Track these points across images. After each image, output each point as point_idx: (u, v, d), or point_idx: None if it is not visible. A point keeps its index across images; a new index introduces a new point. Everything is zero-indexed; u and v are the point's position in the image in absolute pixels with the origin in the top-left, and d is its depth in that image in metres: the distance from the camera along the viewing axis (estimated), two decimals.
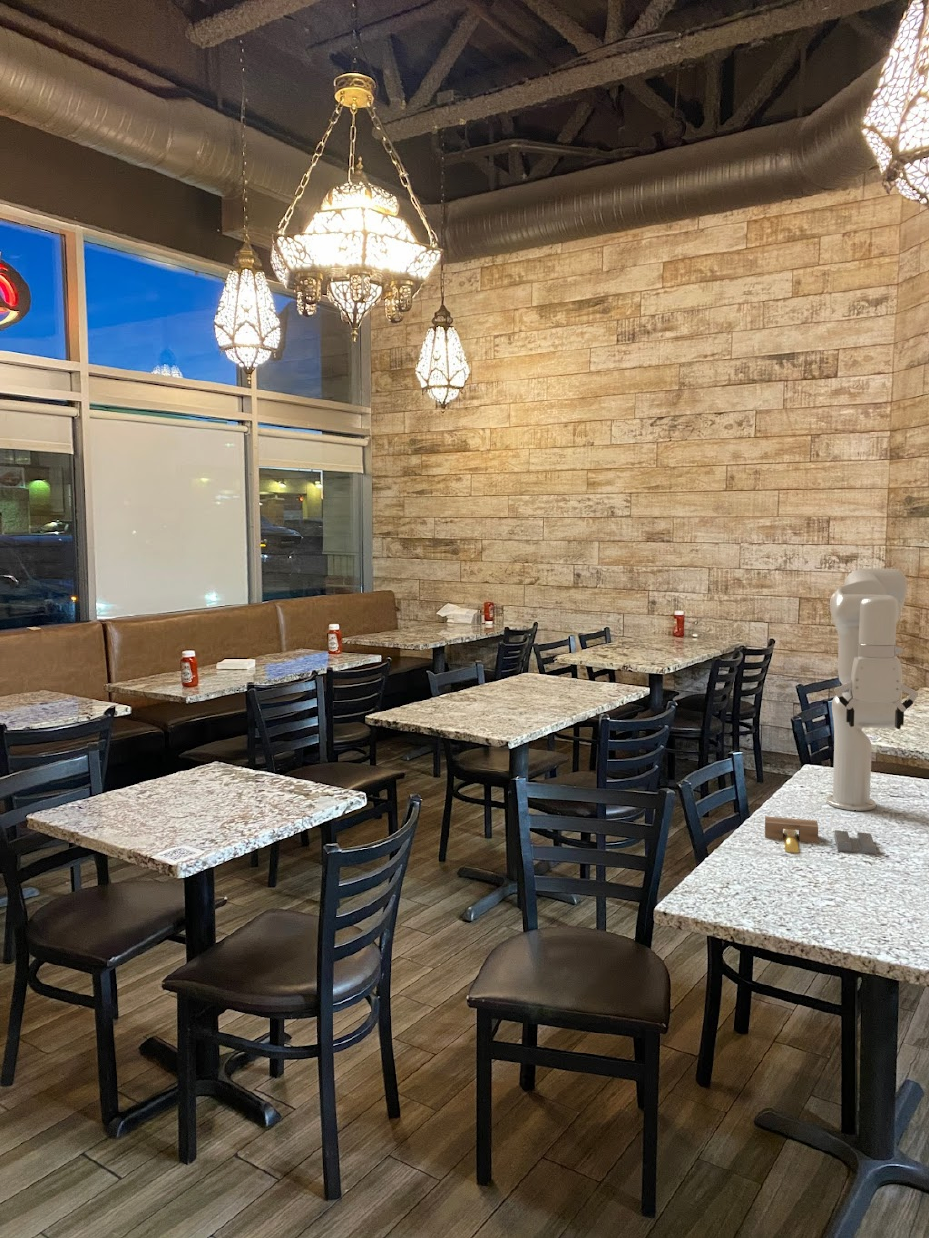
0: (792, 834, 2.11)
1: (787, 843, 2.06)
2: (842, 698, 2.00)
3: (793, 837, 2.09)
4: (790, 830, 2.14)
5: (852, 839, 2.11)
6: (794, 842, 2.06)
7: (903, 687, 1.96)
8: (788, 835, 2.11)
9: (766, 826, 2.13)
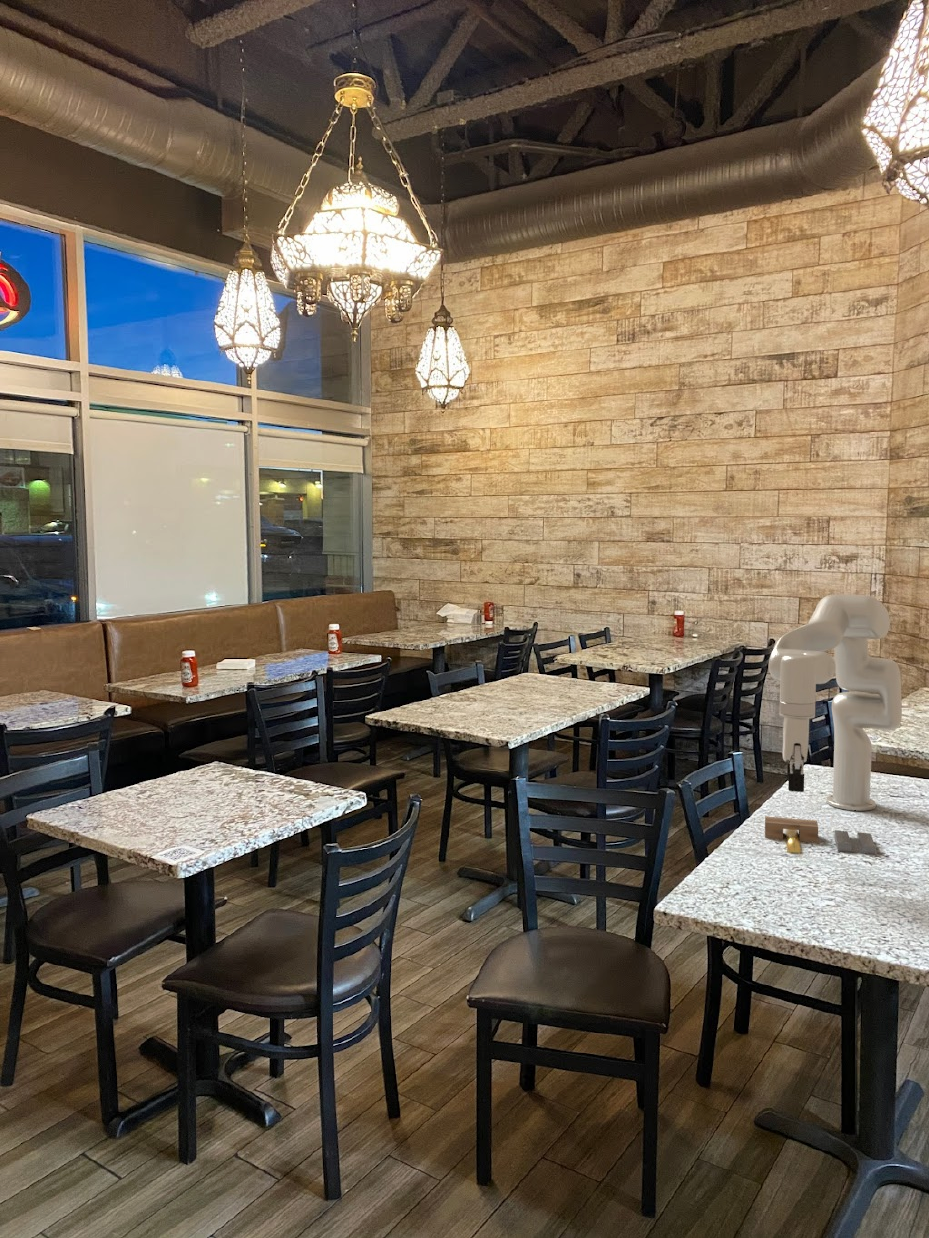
0: (796, 835, 2.11)
1: (791, 842, 2.06)
2: None
3: (797, 838, 2.09)
4: (794, 831, 2.14)
5: (852, 839, 2.11)
6: (798, 843, 2.06)
7: None
8: (792, 835, 2.11)
9: (766, 826, 2.13)
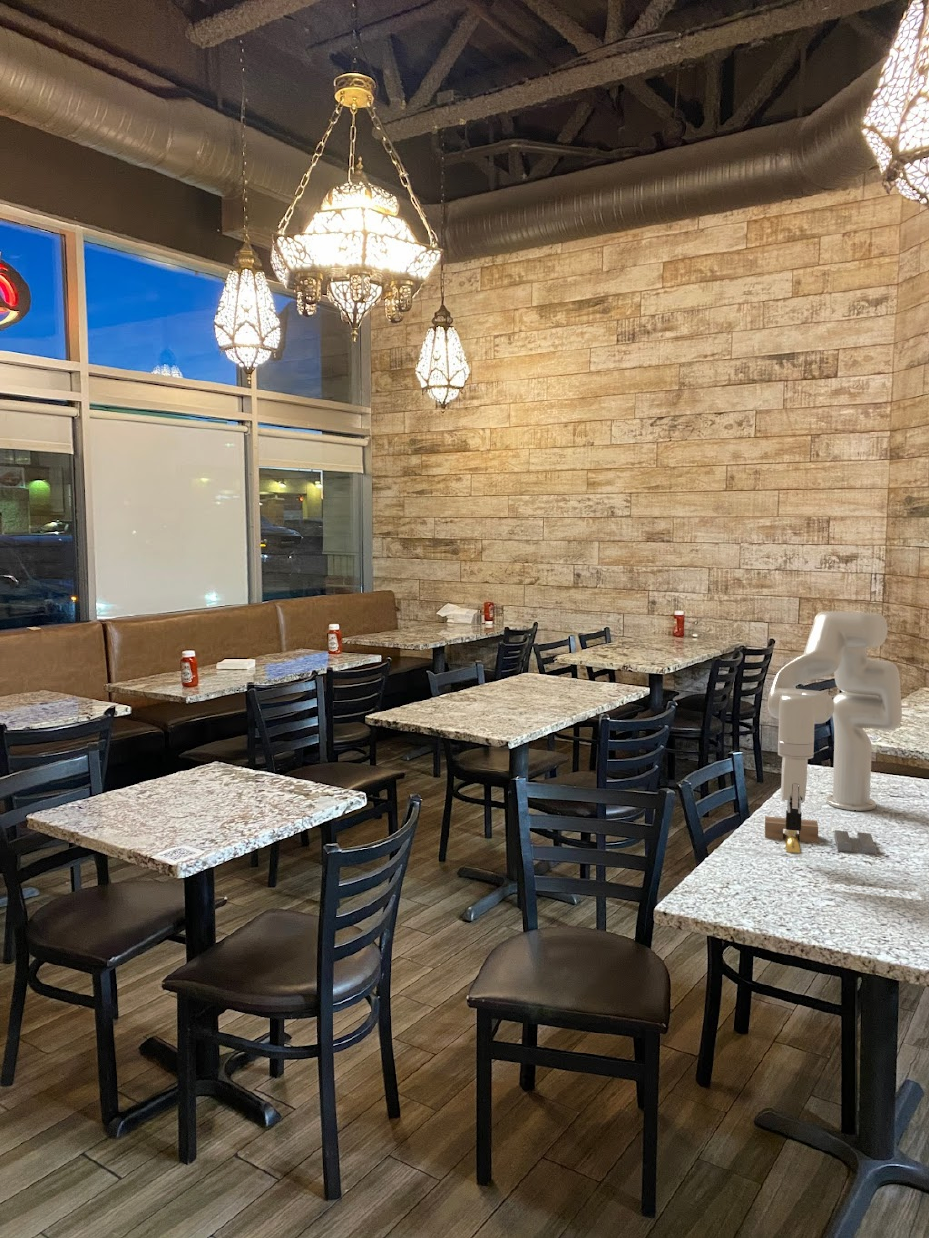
0: (794, 834, 2.11)
1: (789, 843, 2.06)
2: None
3: (795, 838, 2.09)
4: (792, 830, 2.14)
5: (852, 839, 2.11)
6: (796, 843, 2.06)
7: None
8: (790, 835, 2.11)
9: (766, 826, 2.13)
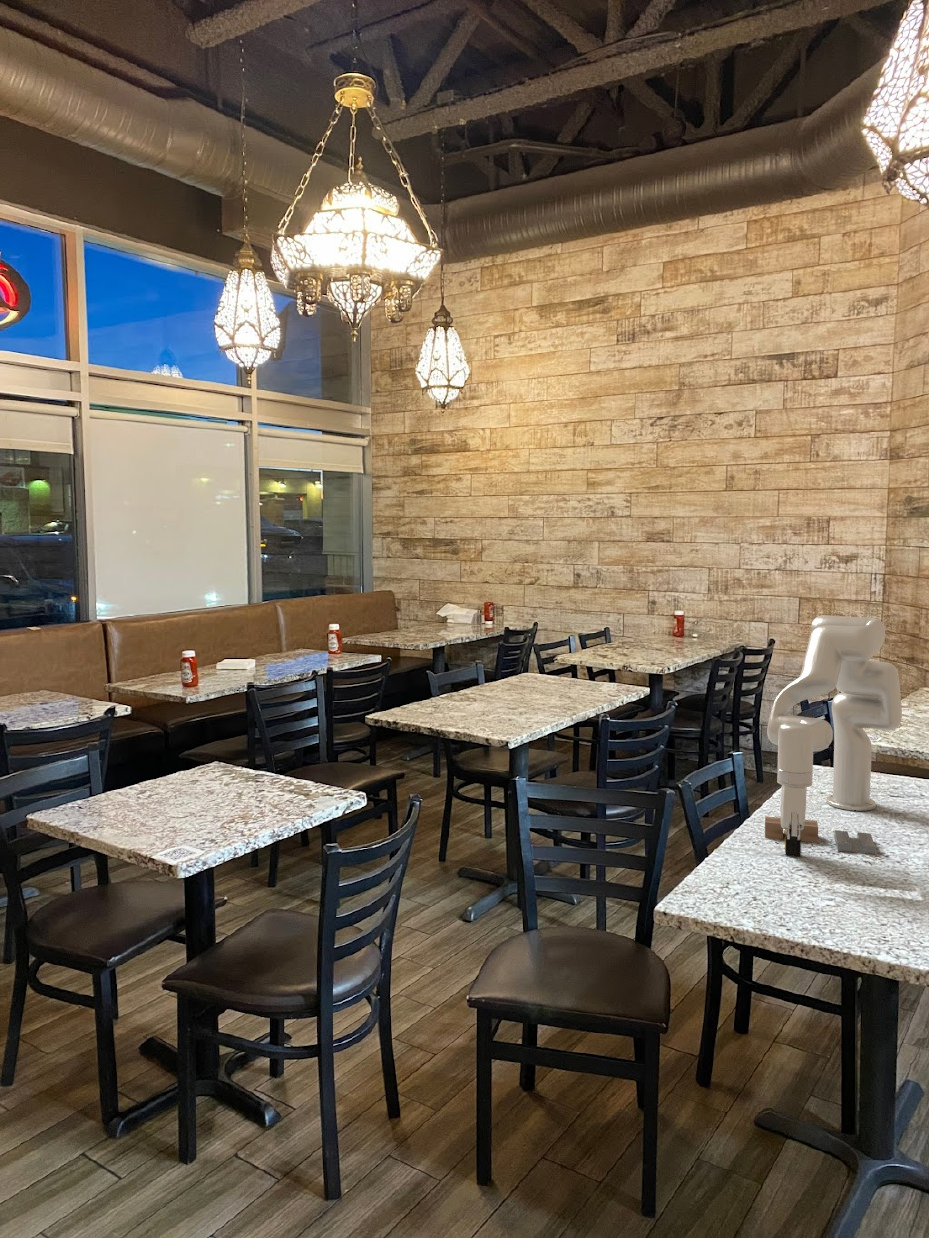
0: None
1: None
2: None
3: None
4: None
5: (852, 839, 2.11)
6: None
7: None
8: None
9: (766, 826, 2.13)
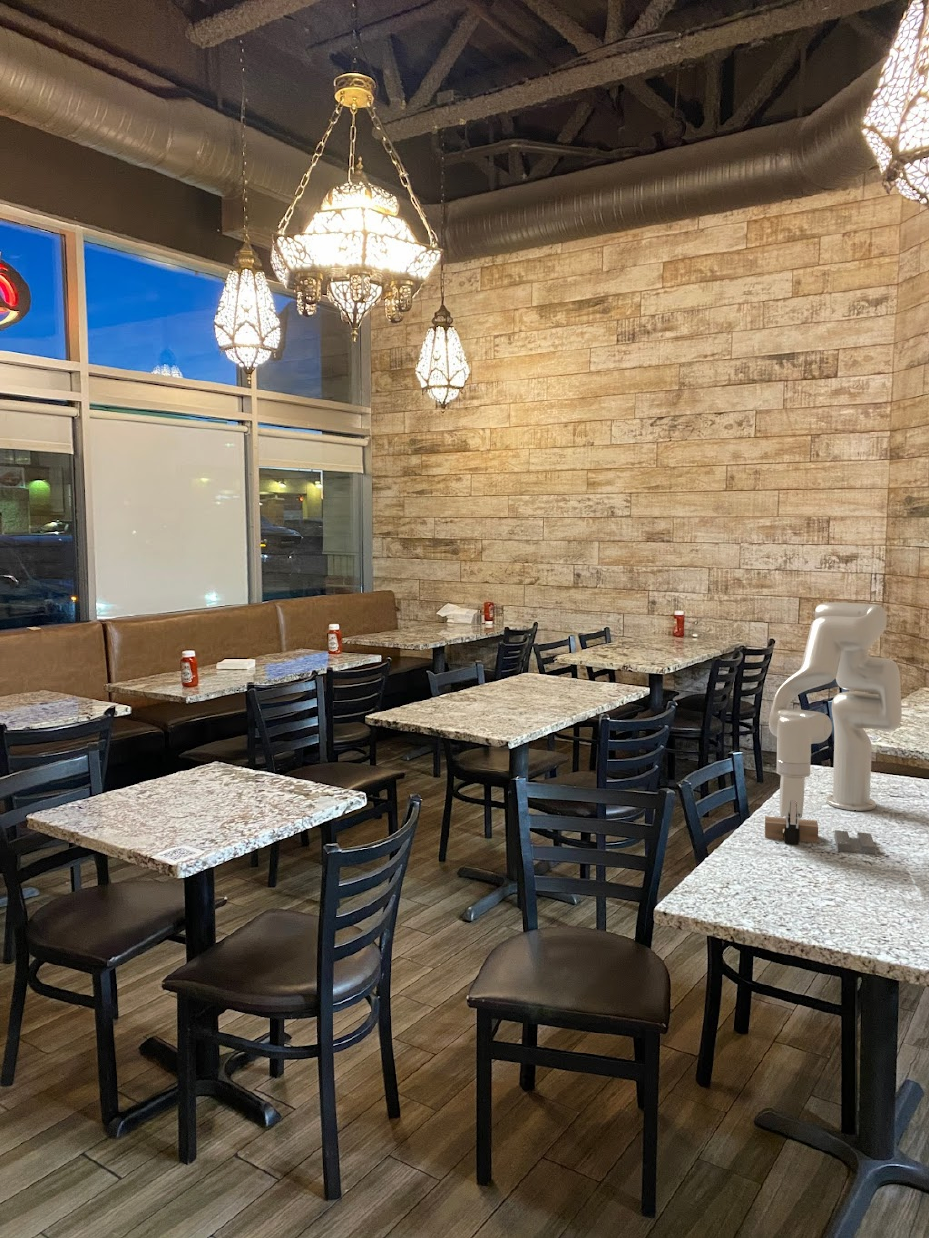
0: None
1: None
2: None
3: None
4: None
5: (852, 839, 2.11)
6: None
7: None
8: None
9: (766, 826, 2.13)
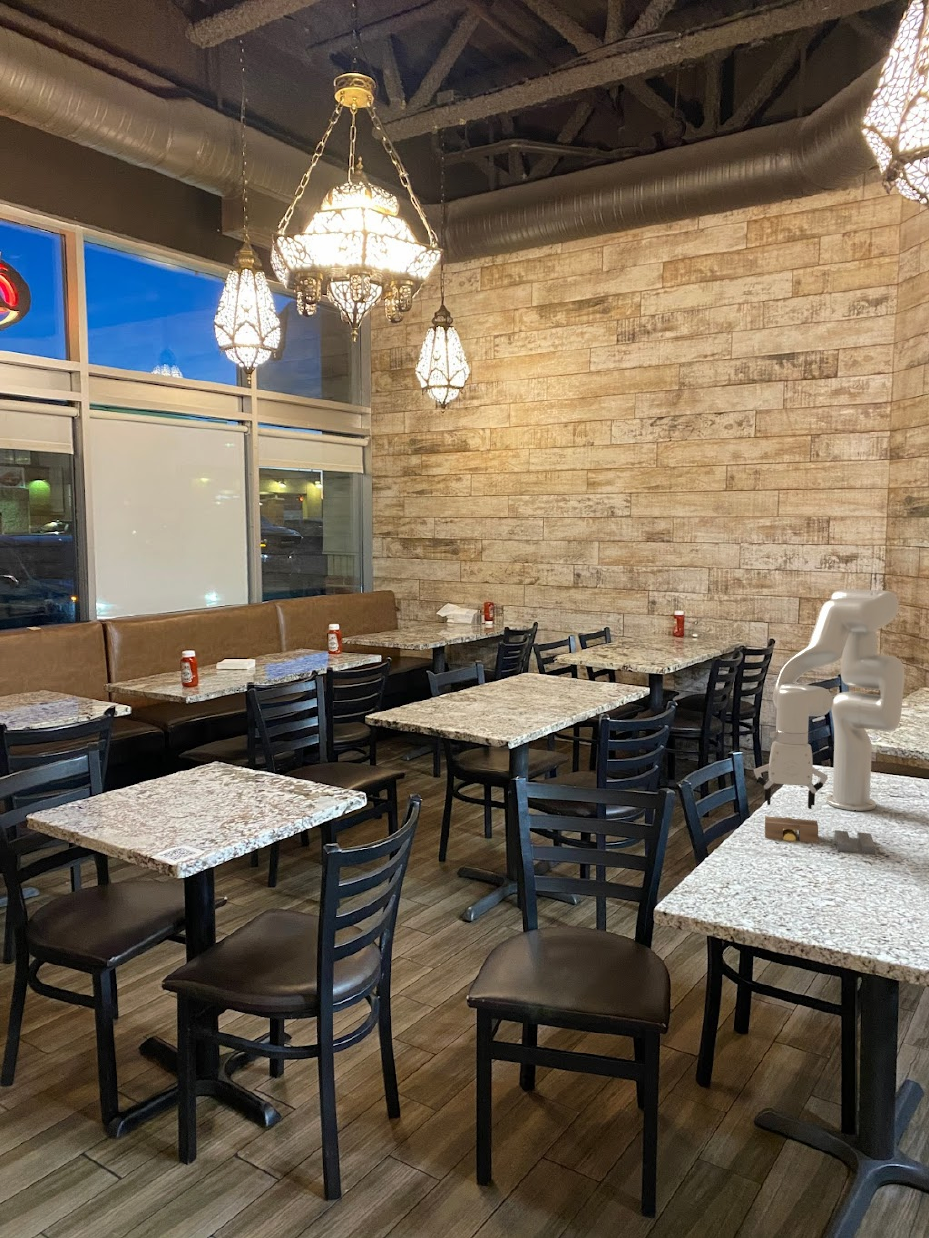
0: None
1: (784, 833, 2.14)
2: None
3: None
4: None
5: (852, 839, 2.11)
6: (790, 830, 2.14)
7: None
8: None
9: (766, 826, 2.13)
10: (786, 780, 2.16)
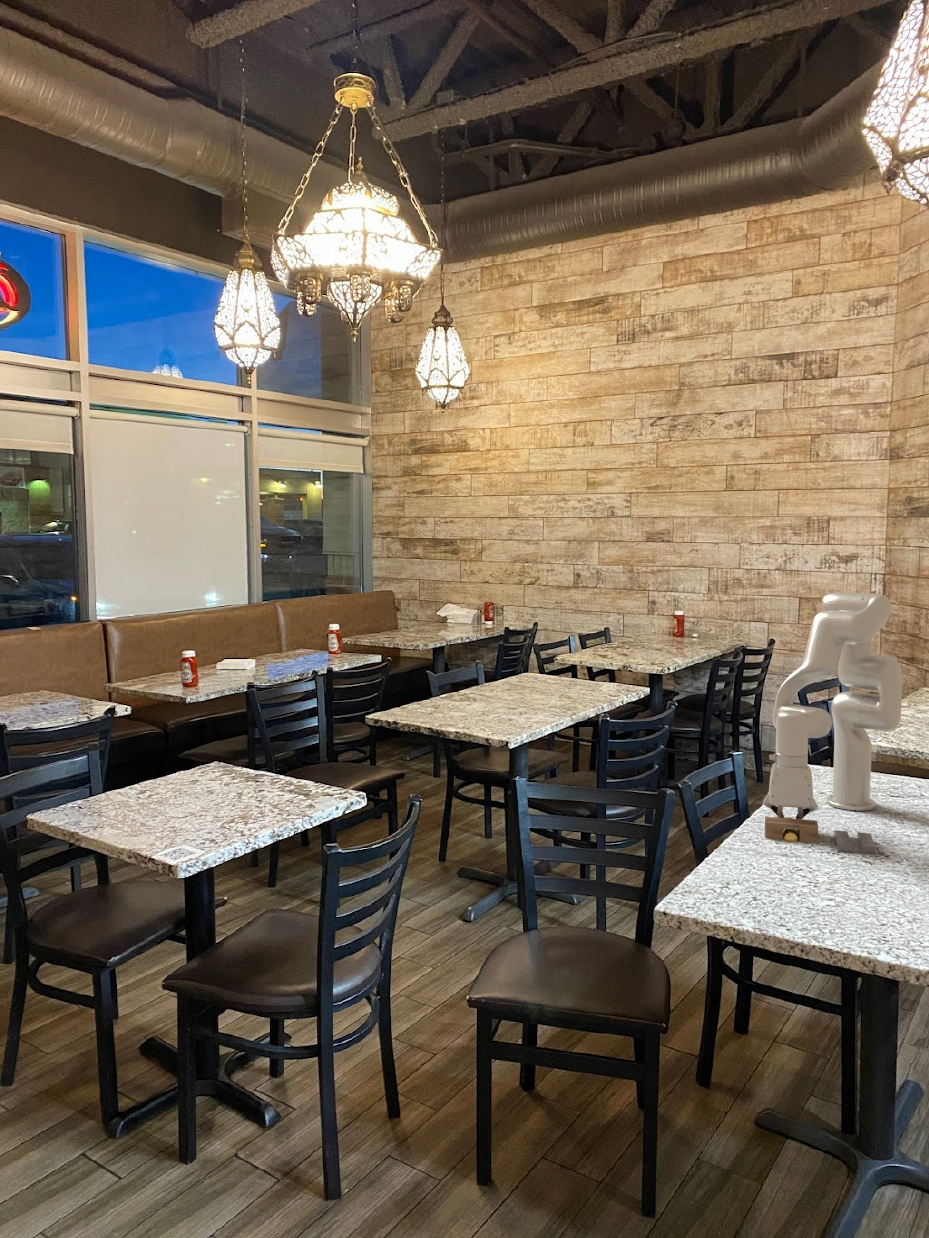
0: None
1: (786, 831, 2.14)
2: None
3: None
4: None
5: (852, 839, 2.11)
6: (793, 830, 2.14)
7: None
8: None
9: (766, 826, 2.13)
10: (786, 802, 2.17)
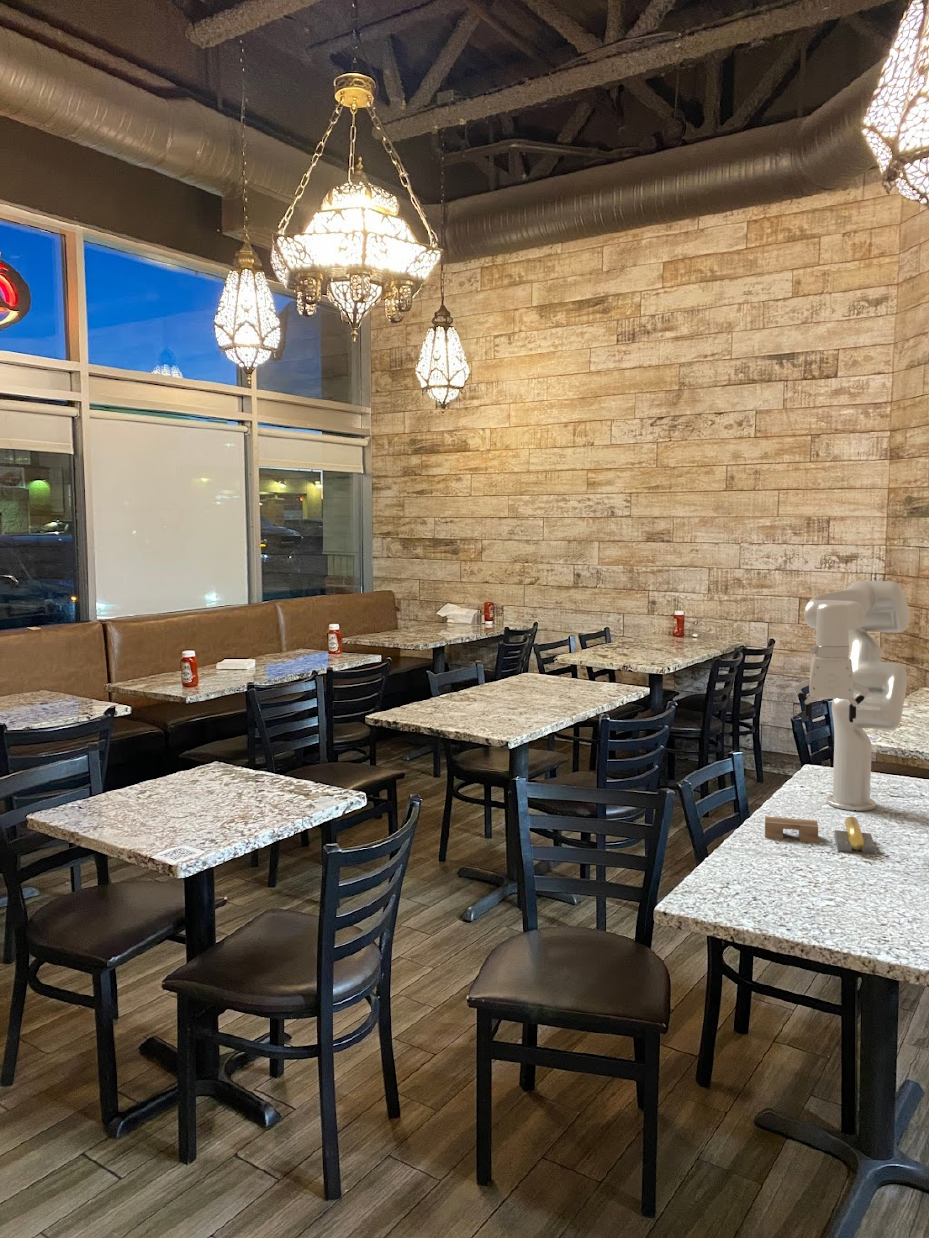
0: (855, 824, 2.09)
1: (851, 833, 2.04)
2: None
3: (857, 827, 2.07)
4: (852, 820, 2.12)
5: None
6: (859, 832, 2.04)
7: None
8: (851, 825, 2.09)
9: (766, 826, 2.13)
10: (827, 694, 2.17)
